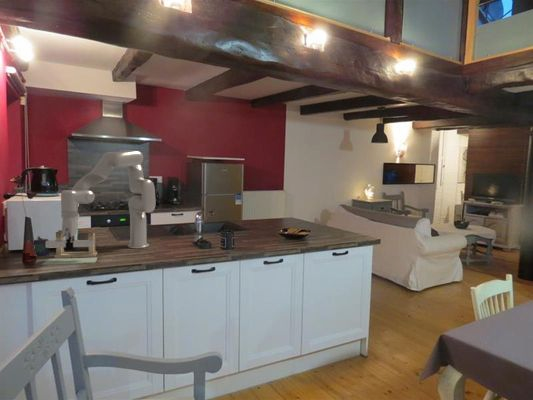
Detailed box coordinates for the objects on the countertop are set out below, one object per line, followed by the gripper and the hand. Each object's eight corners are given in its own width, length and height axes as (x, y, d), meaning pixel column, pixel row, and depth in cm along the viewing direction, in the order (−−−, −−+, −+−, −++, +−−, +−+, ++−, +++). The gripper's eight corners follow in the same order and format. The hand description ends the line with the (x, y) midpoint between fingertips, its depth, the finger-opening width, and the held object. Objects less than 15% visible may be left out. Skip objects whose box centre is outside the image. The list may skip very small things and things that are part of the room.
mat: (48, 260, 194) (48, 259, 194) (97, 258, 200) (97, 257, 200) (42, 265, 185) (42, 263, 185) (94, 263, 191) (94, 262, 191)
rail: (47, 246, 190) (47, 240, 190) (93, 245, 196) (93, 239, 195) (45, 247, 187) (45, 241, 187) (92, 246, 193) (92, 241, 192)
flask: (29, 257, 198) (28, 237, 197) (29, 255, 201) (29, 236, 200) (49, 255, 202) (48, 236, 201) (49, 254, 205) (49, 235, 204)
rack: (57, 255, 204) (57, 230, 202) (97, 253, 209) (96, 229, 207) (54, 258, 198) (53, 232, 196) (94, 256, 203) (94, 231, 202)
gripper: (66, 212, 196) (66, 245, 198) (56, 216, 181) (57, 253, 183) (81, 212, 198) (81, 245, 200) (73, 216, 183) (74, 252, 185)
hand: (70, 248), depth 191 cm, fingers closed on rail, 3 cm apart
